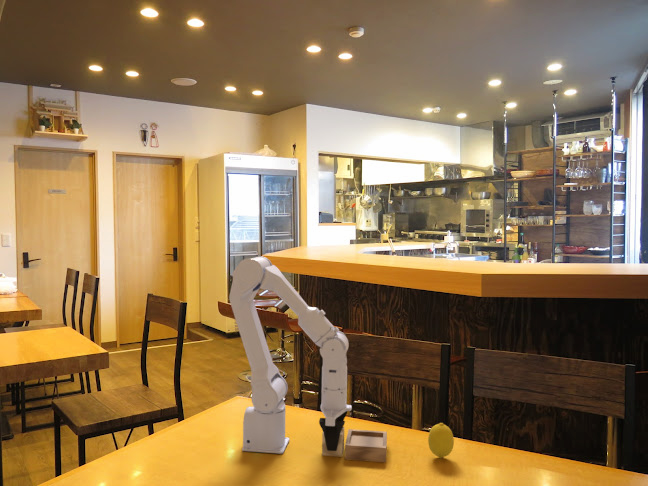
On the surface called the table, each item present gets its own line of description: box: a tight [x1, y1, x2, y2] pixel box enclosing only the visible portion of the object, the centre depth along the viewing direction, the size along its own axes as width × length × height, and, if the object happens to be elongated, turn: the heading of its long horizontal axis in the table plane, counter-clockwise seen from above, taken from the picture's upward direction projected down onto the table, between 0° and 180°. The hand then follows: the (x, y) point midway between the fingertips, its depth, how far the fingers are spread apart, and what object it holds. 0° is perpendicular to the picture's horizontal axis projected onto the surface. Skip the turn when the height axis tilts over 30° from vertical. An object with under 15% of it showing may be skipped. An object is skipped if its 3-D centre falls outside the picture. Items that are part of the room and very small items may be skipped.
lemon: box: [427, 422, 455, 459], centre depth 116 cm, size 6×6×8 cm
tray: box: [344, 428, 388, 463], centre depth 119 cm, size 9×9×3 cm
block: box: [321, 426, 345, 457], centre depth 119 cm, size 4×4×5 cm
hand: (333, 445), depth 119 cm, fingers closed on block, 4 cm apart
